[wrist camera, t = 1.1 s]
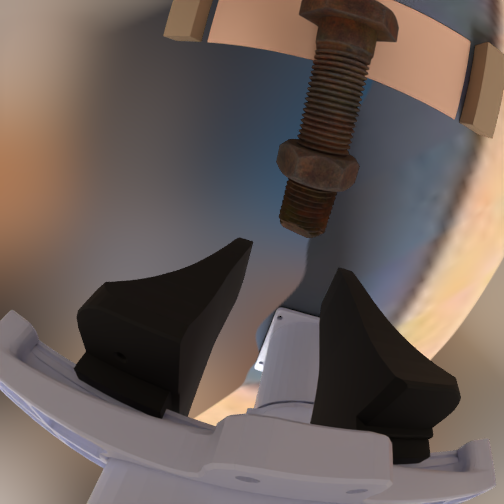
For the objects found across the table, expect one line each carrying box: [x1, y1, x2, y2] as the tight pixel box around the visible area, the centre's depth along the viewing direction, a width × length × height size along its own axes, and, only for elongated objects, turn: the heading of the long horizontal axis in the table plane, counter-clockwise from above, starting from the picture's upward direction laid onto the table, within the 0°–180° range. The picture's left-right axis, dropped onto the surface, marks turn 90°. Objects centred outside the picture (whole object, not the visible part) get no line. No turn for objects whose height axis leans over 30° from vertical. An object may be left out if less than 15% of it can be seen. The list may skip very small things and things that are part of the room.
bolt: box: [276, 0, 399, 238], centre depth 14 cm, size 6×5×15 cm
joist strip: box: [164, 0, 504, 138], centre depth 12 cm, size 7×23×2 cm, turn 78°
